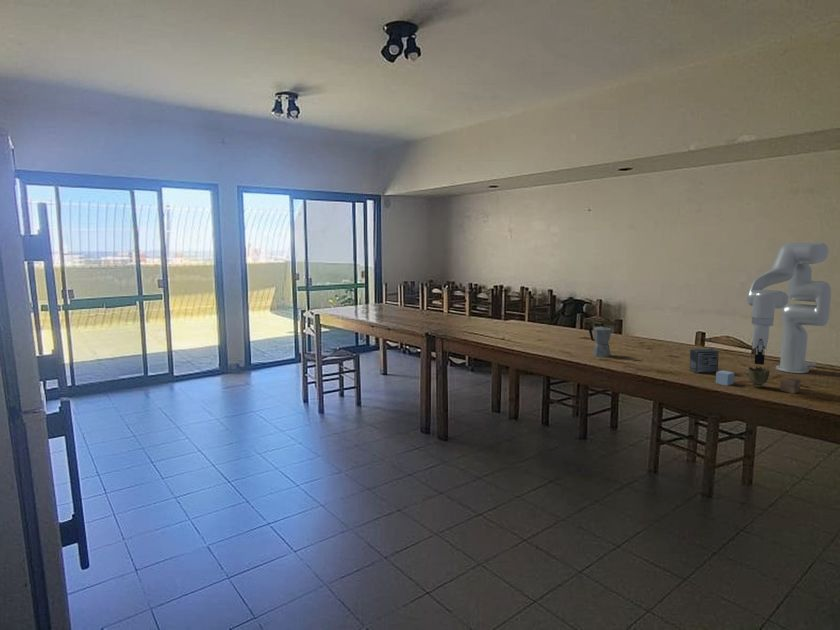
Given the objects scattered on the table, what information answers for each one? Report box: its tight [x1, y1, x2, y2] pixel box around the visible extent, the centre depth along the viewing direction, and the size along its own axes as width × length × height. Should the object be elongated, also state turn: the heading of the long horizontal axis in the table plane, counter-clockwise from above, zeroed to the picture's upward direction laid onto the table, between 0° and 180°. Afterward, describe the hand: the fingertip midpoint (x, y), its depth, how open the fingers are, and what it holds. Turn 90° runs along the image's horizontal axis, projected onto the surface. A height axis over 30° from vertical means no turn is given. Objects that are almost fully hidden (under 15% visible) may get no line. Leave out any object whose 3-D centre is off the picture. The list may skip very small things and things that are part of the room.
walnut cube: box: [779, 376, 801, 394], centre depth 208 cm, size 5×5×5 cm
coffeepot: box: [588, 322, 614, 358], centre depth 280 cm, size 15×9×18 cm, turn 33°
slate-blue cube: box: [715, 369, 736, 386], centre depth 221 cm, size 5×5×5 cm
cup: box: [748, 366, 771, 389], centre depth 214 cm, size 8×7×8 cm
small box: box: [689, 348, 719, 374], centre depth 241 cm, size 11×6×10 cm, turn 92°
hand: (759, 361), depth 213 cm, fingers open, 9 cm apart
